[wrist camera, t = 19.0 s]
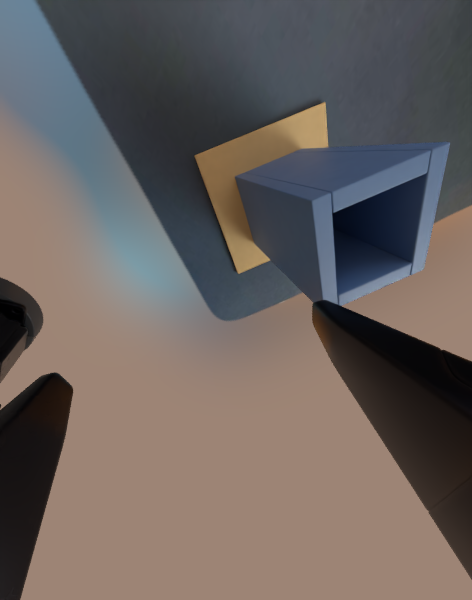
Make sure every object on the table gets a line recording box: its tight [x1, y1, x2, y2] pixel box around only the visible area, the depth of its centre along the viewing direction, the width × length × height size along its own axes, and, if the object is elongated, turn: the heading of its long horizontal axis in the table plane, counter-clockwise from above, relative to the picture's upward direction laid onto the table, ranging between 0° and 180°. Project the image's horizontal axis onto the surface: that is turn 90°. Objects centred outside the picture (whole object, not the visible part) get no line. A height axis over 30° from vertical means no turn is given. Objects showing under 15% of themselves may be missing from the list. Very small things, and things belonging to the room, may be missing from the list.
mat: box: [195, 102, 328, 274], centre depth 19 cm, size 10×10×1 cm
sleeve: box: [235, 142, 450, 306], centre depth 14 cm, size 6×6×11 cm
